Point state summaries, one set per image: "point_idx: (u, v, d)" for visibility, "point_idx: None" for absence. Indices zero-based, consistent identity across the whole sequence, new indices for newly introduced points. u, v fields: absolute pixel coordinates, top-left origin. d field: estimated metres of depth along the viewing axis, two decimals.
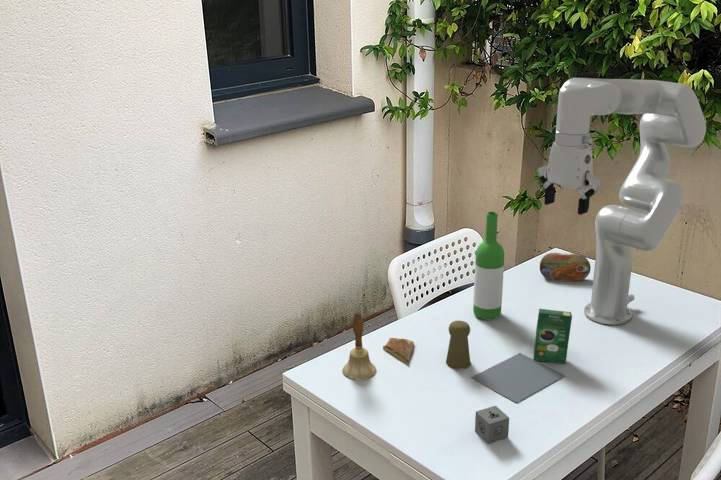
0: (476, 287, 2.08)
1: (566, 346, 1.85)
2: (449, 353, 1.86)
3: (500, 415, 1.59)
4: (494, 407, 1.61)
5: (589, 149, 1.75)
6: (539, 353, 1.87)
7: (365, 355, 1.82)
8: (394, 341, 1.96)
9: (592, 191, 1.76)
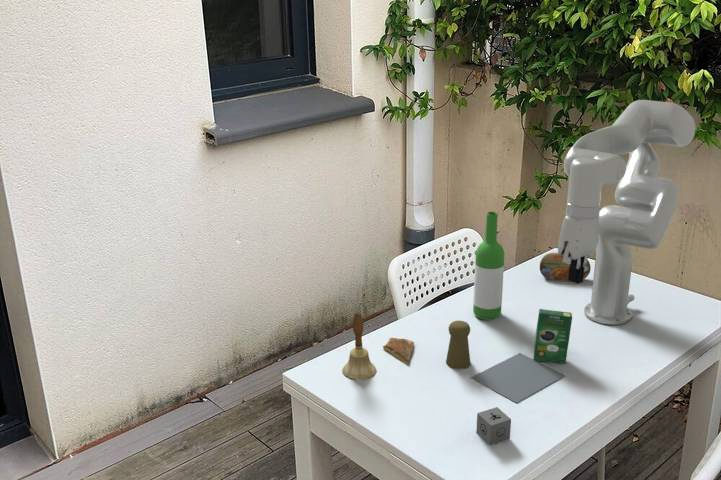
0: (476, 287, 2.08)
1: (566, 346, 1.85)
2: (449, 353, 1.86)
3: (502, 417, 1.58)
4: (496, 409, 1.61)
5: None
6: (539, 353, 1.87)
7: (365, 355, 1.82)
8: (394, 341, 1.96)
9: (588, 255, 1.85)
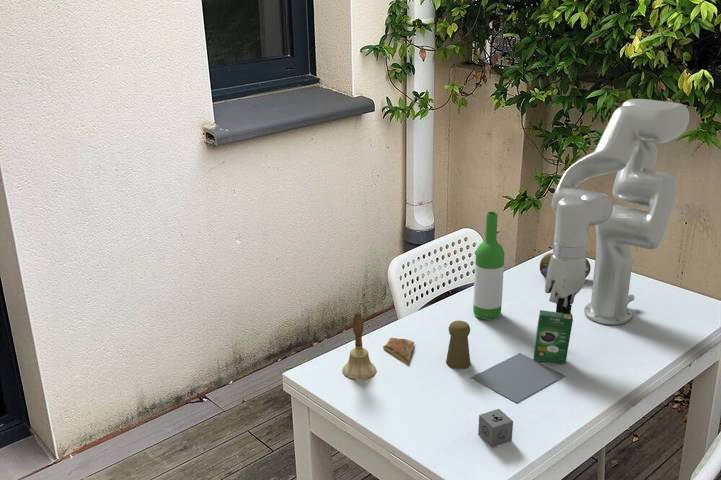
0: (476, 287, 2.08)
1: (566, 347, 1.85)
2: (449, 353, 1.86)
3: (504, 418, 1.58)
4: (497, 410, 1.60)
5: None
6: (539, 353, 1.87)
7: (365, 355, 1.82)
8: (394, 341, 1.96)
9: (575, 293, 1.86)
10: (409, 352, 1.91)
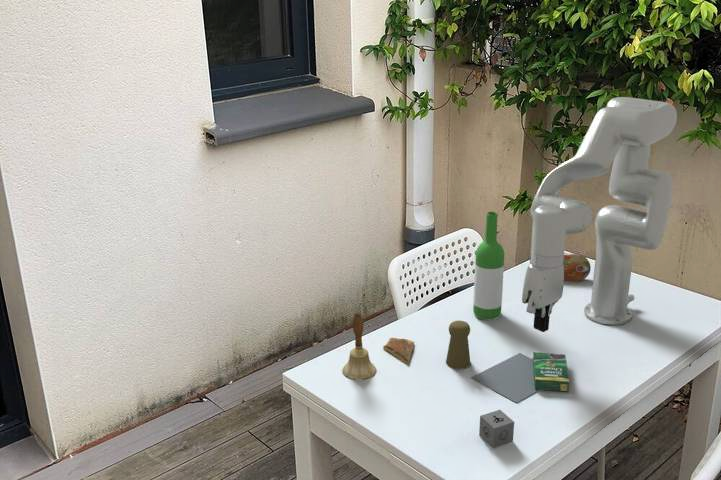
0: (476, 287, 2.08)
1: None
2: (449, 353, 1.86)
3: (505, 419, 1.57)
4: (498, 411, 1.60)
5: None
6: None
7: (365, 355, 1.82)
8: (394, 341, 1.96)
9: (553, 303, 1.81)
10: (409, 352, 1.91)
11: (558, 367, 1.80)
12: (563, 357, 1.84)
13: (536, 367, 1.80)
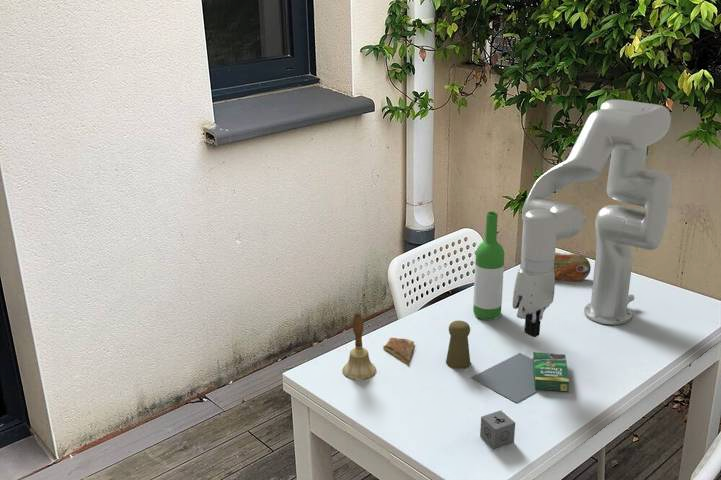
0: (476, 287, 2.08)
1: None
2: (449, 353, 1.86)
3: (506, 420, 1.57)
4: (499, 412, 1.60)
5: None
6: None
7: (365, 355, 1.82)
8: (394, 341, 1.96)
9: (544, 308, 1.79)
10: (409, 352, 1.91)
11: (558, 367, 1.80)
12: (563, 357, 1.84)
13: (536, 367, 1.80)
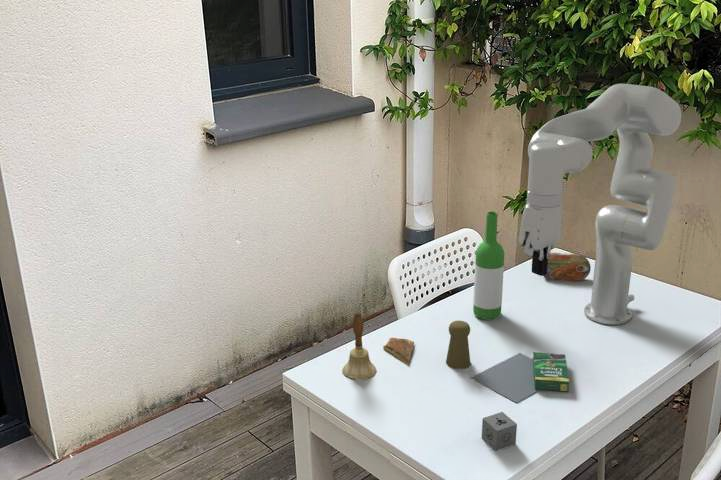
0: (476, 287, 2.08)
1: None
2: (449, 353, 1.86)
3: (507, 421, 1.56)
4: (501, 413, 1.59)
5: None
6: None
7: (365, 355, 1.82)
8: (394, 341, 1.96)
9: (552, 246, 1.75)
10: (409, 352, 1.91)
11: (558, 367, 1.80)
12: (563, 357, 1.84)
13: (536, 367, 1.80)
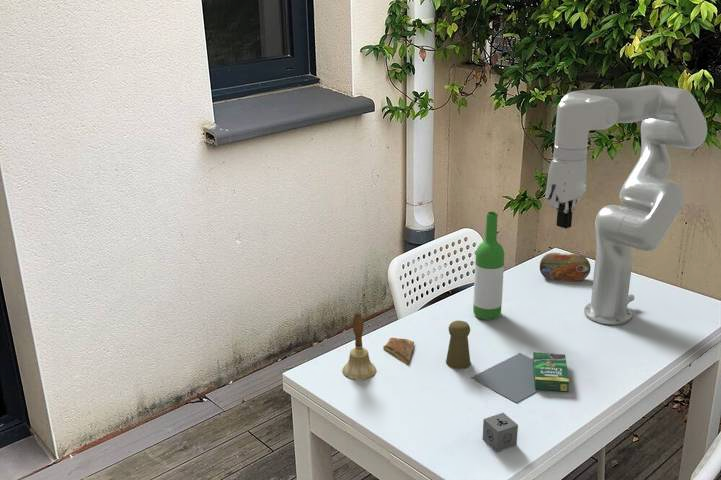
0: (476, 287, 2.08)
1: None
2: (449, 353, 1.86)
3: (508, 422, 1.56)
4: (502, 414, 1.59)
5: None
6: None
7: (365, 355, 1.82)
8: (394, 341, 1.96)
9: (576, 200, 1.84)
10: (409, 352, 1.91)
11: (558, 367, 1.80)
12: (563, 357, 1.84)
13: (536, 367, 1.80)
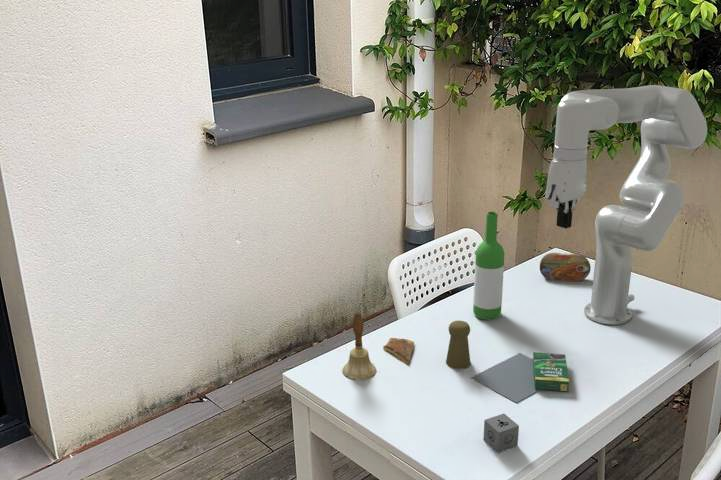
0: (476, 287, 2.08)
1: None
2: (449, 353, 1.86)
3: (509, 423, 1.56)
4: (503, 415, 1.59)
5: None
6: None
7: (365, 355, 1.82)
8: (394, 341, 1.96)
9: (576, 200, 1.84)
10: (409, 352, 1.91)
11: (558, 367, 1.80)
12: (563, 357, 1.84)
13: (536, 367, 1.80)
